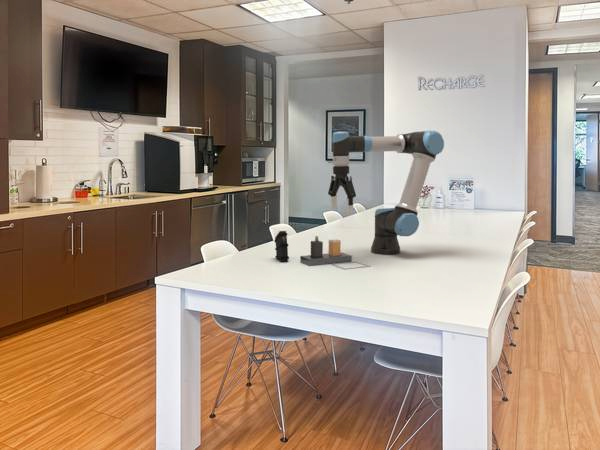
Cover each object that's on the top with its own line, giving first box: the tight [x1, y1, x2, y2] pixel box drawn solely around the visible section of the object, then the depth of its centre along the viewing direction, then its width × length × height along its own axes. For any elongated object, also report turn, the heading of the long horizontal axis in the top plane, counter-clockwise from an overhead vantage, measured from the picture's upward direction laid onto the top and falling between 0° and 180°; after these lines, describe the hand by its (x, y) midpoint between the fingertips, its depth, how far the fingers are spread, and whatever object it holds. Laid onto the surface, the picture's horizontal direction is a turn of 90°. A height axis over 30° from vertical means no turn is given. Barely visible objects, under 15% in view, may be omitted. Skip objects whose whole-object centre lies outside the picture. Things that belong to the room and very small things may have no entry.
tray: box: [329, 260, 372, 271], centre depth 231 cm, size 14×12×1 cm
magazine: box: [273, 230, 290, 263], centre depth 243 cm, size 4×13×15 cm, turn 16°
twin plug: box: [310, 235, 324, 258], centre depth 236 cm, size 4×4×12 cm
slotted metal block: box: [299, 251, 353, 267], centre depth 239 cm, size 22×9×4 cm, turn 117°
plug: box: [328, 238, 342, 256], centre depth 240 cm, size 4×4×10 cm
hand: (341, 211), depth 242 cm, fingers open, 13 cm apart
